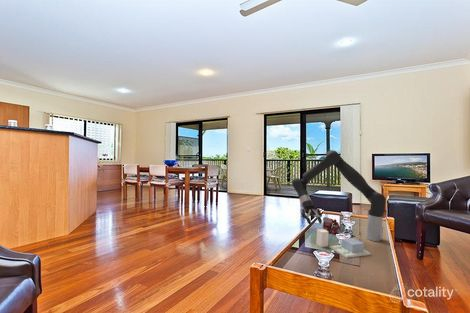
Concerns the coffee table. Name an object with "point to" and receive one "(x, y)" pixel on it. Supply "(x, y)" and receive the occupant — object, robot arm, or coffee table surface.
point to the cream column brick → (322, 237)
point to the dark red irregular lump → (328, 224)
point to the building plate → (346, 253)
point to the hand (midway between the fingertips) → (315, 223)
